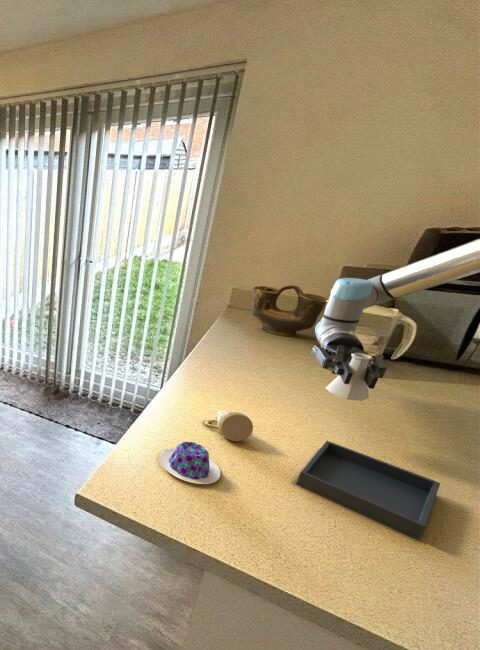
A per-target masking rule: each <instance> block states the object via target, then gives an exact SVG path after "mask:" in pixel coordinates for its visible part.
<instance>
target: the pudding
mask: <svg viewBox="0 0 480 650" xmlns="http://www.w3.org/2000/svg"><path fill="white" fill-rule="evenodd" d="M209 455H210V454H209V451H208V450H207V449H206V448H205V447H204V446H203V445H202V444H198V443H196V442H194V441H182V442H181V443H179V444H178V445H176V447H174V448H173V447H172V448H168V449H166V450H164V451H162V452H161V453H160V455H159V463H160V464H161V466H162V467H163V468H164V469H165V471H167V472H168V473H169V474H171V476H174V477H176V478H177V479H180V480H182V481H185V482H188V483H191V484H197V485H209V484H213V483H215V482H217V481H218V480H219V479H220V478H221V470H220V468H219V466H218V465H217V464H216V463H215V462H214V461H213V460H212V459H211V458H210V456H209Z"/></svg>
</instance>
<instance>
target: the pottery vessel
mask: <svg viewBox="0 0 480 650" xmlns="http://www.w3.org/2000/svg"><path fill="white" fill-rule="evenodd" d="M287 290H294V291H295V293H296V295H297V304H296V308H295V309H293V310H284V309H281V308H279V307H278V306H277V301H278V298H279V297H280V295H281V294H282V293H283V292H285V291H287ZM252 291H253V293H254V298H253V307H252V312H251V314H252V316H253V318H254V319H255V320H256V321H258V322H259V323H260V324H261V325H262V327H261V330H262V331H264V332H265V333H267V334H270V335H275V336H281V337H290V338H291V337H294V336H295V335H297V332H301V331H304V330H305V331H306V330H308V329H312V328H313V327H314V325H315V324H316V323H317V320H318V318H319V316H320V314H321V313H322V312H323V310H324V308H325V307H326V306H327V304H326V300H329V298H326V297H325V296H322V295H318V294H315V293H313V294H312V293H304V292H303V290H302V289H301V288H300V286H298V285H294V284H290V285H285V286H282V287H280V288H276V287H273V286H272V287H271V286H265V285H259V286H254V287H253V288H252Z"/></svg>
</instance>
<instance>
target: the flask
mask: <svg viewBox="0 0 480 650" xmlns="http://www.w3.org/2000/svg"><path fill="white" fill-rule="evenodd" d="M369 355H370V354H369ZM369 355H366V354H362V353H353V354H352V355H351V356H352V360H351V362H350V363H348V366H349V367H350V369H351V371H352V373H353V375H352V377H351V379H350V382H349V384H344V383H343V381H342V378H341V376H340V375H339V374H338V375H337V376H336V378H334V379H333V380H332V381H331V382H330V383H329V384H328V385H327V386H325V390H327V391H328V392H329V393H330V394H332V395H333V396H336V397H339V398H341V399H344V400H348V401H358V402H363V401H366V400H368V399H370V396H369V387H368V386H367V384H366V382H365V381H364V379H365V375H366V370H367V365H368V362H369V360H371V359H372V357H371V356H372V355H370V356H369Z"/></svg>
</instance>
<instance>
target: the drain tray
mask: <svg viewBox="0 0 480 650" xmlns="http://www.w3.org/2000/svg"><path fill="white" fill-rule="evenodd" d="M295 485H296V486H299V487H300V488H303V489H305V490H307V491H309V492H312V493H314V494H316V495H318V496H320V497H321V498H324V499H326V500H329V501H331V502H333V503H334V504H338V505H339V506H342V507H344V508H346V509H349V510H350V511H352V512H355V513H357V514H359V515H361V516H364V517H366V518H368V519H369V520H372V521H374V522H376V523H379V524H381V525H383V526H385V527H387V528H389V529H392V530H394V531H396V532H398V533H401V534H403V535H405V536H407V537H409V538H411V539H414V540H416V541H418V540H419V538H420V536H421V535H422V533H423V532H424V530H425V529H426V525H427V523H428V520H429V517H430V515H431V512H432V509H433V506H434V503H435V500H436V498H437V494H438V491H439V488H440V486H441V482H439V481H437V480H434V479H432V478H429V477H426V476H423V475H420V474H417V473H415V472H413V471H410V470H408V469H404V468H402V467H399V466H397V465H393V464H392V463H389V462H386V461H383V460H380V459H378V458H375V457H372V456H370V455H367V454H364V453H361V452H359V451H356V450H354V449H351V448H348V447H346V446H343V445H341V444H337V443H334V442H333V441H332V442H331V441H329V440H326V441H325V442H324V443H323V444H322V446H321V447H320V448H319V449H318V451H316V453H315V454H314V455H313V457H312V458H311V459H310V460H309V461H308V462H307V464H306V465H305V466H304V467H303V469H302V470H301V471H300V473H299V475H298V478H297V480H296V483H295Z"/></svg>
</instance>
